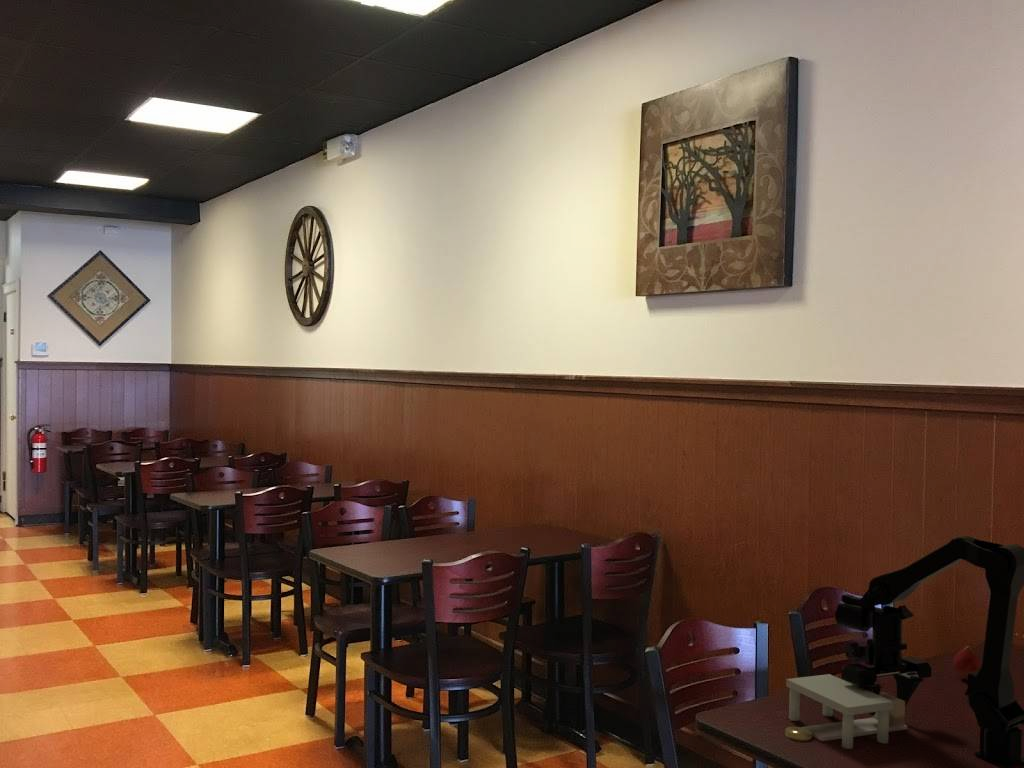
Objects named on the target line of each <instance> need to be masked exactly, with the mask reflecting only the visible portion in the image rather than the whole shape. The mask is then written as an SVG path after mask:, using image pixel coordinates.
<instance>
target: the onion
mask: <svg viewBox="0 0 1024 768" xmlns="http://www.w3.org/2000/svg"><path fill="white" fill-rule="evenodd" d="M952 664H953V667H954V670H955V671H956V672H957V673H958V675H960V676H961V677H962V678H963V679H964V680H967V681H968V674H969V673H972V672H975V671H978V670H980V668H981V665H982V664H981V660H980V657H978V655H977V654H976V653H975V652H974V651H973V650H972V649H971V646H969V645H967V646H965V647H964V648H963V649H961V650H959V651H958V652H957V653H956V654H955V655H954V658H953V662H952Z"/></svg>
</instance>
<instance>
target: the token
mask: <svg viewBox="0 0 1024 768" xmlns="http://www.w3.org/2000/svg"><path fill="white" fill-rule="evenodd" d="M802 727H803V726H788V727H786V728H785V730H784V731H785V733H784V734H785V737H787V738H788V739H790V740H794V741H800V742H806V741H807V742H808V741H811V740H812V739H813V736H812V732H811V731H810V730H808V729H806V728H802Z"/></svg>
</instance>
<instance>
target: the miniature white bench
mask: <svg viewBox="0 0 1024 768" xmlns="http://www.w3.org/2000/svg"><path fill="white" fill-rule="evenodd" d="M785 685H786V687H787V688H789V701H788V706H789V708H788V720H789V719H790V720H789V721H792V722H799V721H800V703H801V702H800V699H801V698H800V697H801V694H802V695H804V696H806V697H807V698H810V699H812V700H814V701H815V702H818V703H821V704H822V715H823V716H825V717H833V715H834V713H833V712H834V710H836V711H837V712H839V713H842V722H843V723H842V739H841V748H843V749H848V750H851V749H853V748H854V737H853V729H854V720H855V715H862V714H869V713H870V712H877V711H878V729H877V734H876V736H877V737H876V741H877V742H878V743H880V744H888V743H889V733H890V732H889V710H891V709H893V701H891V700H889V699H886V698H884V697H882V696H879V695H877V694H875V693H872V692H870V691H868V690H865V689H863V688H861V687H858V686H856V684H854V683H851V682H849V681H844V680H842V678H841V677H840V678H839V677H837V676H834V675H832V674H830V673H828V674H820V675H812V676H811V675H810V676H802V677H801V676H800V677H793V678H786V684H785Z"/></svg>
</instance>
